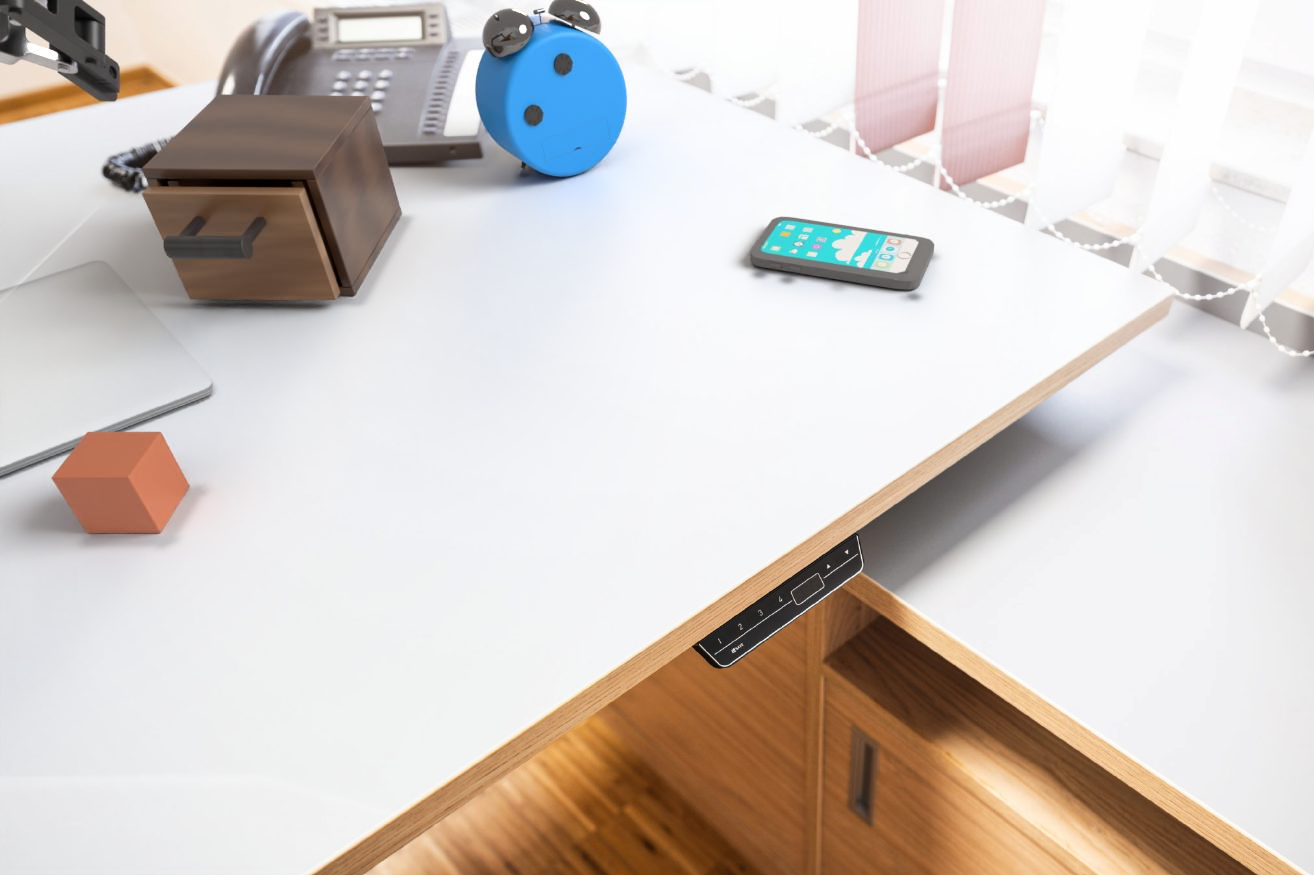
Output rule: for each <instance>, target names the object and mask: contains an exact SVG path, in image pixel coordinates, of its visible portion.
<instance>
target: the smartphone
mask: <svg viewBox="0 0 1314 875" xmlns="http://www.w3.org/2000/svg"><path fill="white" fill-rule="evenodd" d="M934 251H935V243H934V242H933V240H931V239H930V238H926V237H923V236H917V235H911V234H904V233H898V232H891V231H885V230H878V229H873V228H865V227H858V226H852V225H846V224H839V223H832V222H825V221H819V220H813V219H806V218H800V217H793V216H778V217H775V218H773V219H771V221H769V223H768V225H767V226H766V228H765V229H764V230H763V231H762V233H761V234H760V236H759V238H758V239H757V240H756V242H755V243H754V245H753V246H752V247H751V249H750V250H749V253H750V256H749V258H750V262H751V263H752V264H753V265H754V266H756V267H759V268H766V269H770V270H776V271H782V272H789V273H796V274H802V275H808V276H815V277H821V278H827V279H833V280H839V281H846V282H852V283H858V284H864V285H870V286H876V287H883V288H888V289H895V290H909V291H910V290H914V289H917V288H919V287H920V285H921V283H922V280H923V278H924V277H925V274H926V271H927V269H928V267H929V264H930V262H931V260H932V258H933V256H934V254H935V252H934Z"/></svg>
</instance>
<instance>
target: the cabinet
mask: <svg viewBox="0 0 1314 875" xmlns="http://www.w3.org/2000/svg"><path fill="white" fill-rule="evenodd" d="M141 171H142V173H143V175H144V176H143V177H144V178H145V180H146V182H147V184H148V187H170V186H169V184H168V180H169V179H280V180H307V183H308V186H309V189H310V192H311V195H312V198H313V201H314V204H315V207H316V210H317V213H318V216H319V219H320V221H321V224H322V227H323V230H324V233H325V236H326V239H327V242H328V245H329V248H330V251H331V254H332V257H333V260H334V263H335V266H336V269H337V272H338V275H339V276H338V277H337V279H336V281H337V284H338V287H339V290H340V294H339V296H338V297H340V296H341V297H347V296H348V297H353V296H354V297H355V296H356V295H357V293H358V291H359V290H360V287H361V286H362V284H364V281H365V279H366V277H367V276H368V274H369V272H370V271H371V269H372V267H373V266H374V264H375V262H376V260H377V258H378V256H379V255H380V253H381V251H382V249H383V248H384V247H385V245H386V243H387V241H388V239H389V238H390V236H391V235H392V232H393V231H394V228H395V227H396V225H397V223H398V222H399V220H400V218H401V217H402V215H403V212H402V208H401V205H400V201H399V198H398V193H397V190H396V188H395V183H394V179H393V176H392V172H391V169H390V165H389V162H388V158H387V154H386V152H385V148H384V144H383V141H382V137H381V133H380V130H379V126H378V123H377V118H376V115H375V112H374V109H373V106H372V101H371V97H370V96H369V95H315V94H314V95H313V94H311V95H309V94H308V95H307V94H298V95H297V94H225V93H224V94H221V93H220V94H217V95H216V96H215V97H214V98H213V99H212V100H211V101H210V102H209V103H207V104H206V105H205V106H204V107H203V109H201V110H200V112H198V113H197V114H196V115H195V116H194V117H193V118H192V119H191V120H190V121H189V122H188V123H187V124H186V125H184V127H182V129H181V130H180V131H178V133H177V134H176V135H175V136H174V137H172V138H171V139H170V140H169V141H168V142H167V143H166V144H165V145H164V146H163V147H162V148H161V149H160V150H159V151H158V152H157V153H156V154H155V155H154V156H153V157H152V158H151V159H150V160H149V161H148V162H147V163H146V164H145V165H143V166H142V168H141Z"/></svg>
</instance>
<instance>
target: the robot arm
mask: <svg viewBox="0 0 1314 875" xmlns="http://www.w3.org/2000/svg"><path fill="white" fill-rule="evenodd" d="M26 30H29V31H30V32H32V33H34V34H35V35H36V36H38V37H40V38H41V39H43V41H46V42H48V48H47V47H44V46H41V45H37V44H34V43H32V42H30V41H29V40H28V38H27V36H26V35H27V34H26V33H27V32H26ZM22 60H23V61H26V62H29V63H32V64H35V65H38V66H41V67H45V68H48V69H51V70H54V71H57V73H58V74H59V75H60V76H62V77H63V78H65V79H66V80H68V81H69V82H71V83H72V84H73V85H75V86H77V87H78V88H79V89H80V90H82V91H84V92H85V93H87V94H88V95H89V96H91V97H93V98H94V99H96V100H97V101H99V102H109V103H110V102H116V101H117V100H118V94H120V91H121V89H120V88H121V87H120V86H121V85H120V84H121V80H120V79H121V78H120V76H121V74H120V73H121V67H120V65H119V63H118V62H117V61H116V60H114V59H113V58H112V57H111V56H109V55H108V54H106V16H104V14H102V13H101V12H99V11H98V10H97V9H95V8H94V7H93V6H91V5H90V4H89V3H87V2H86V1H85V0H0V63H2V64H5V65H8V66H12V65H15V64H17V63H18V62H19V61H22Z"/></svg>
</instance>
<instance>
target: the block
mask: <svg viewBox="0 0 1314 875" xmlns="http://www.w3.org/2000/svg"><path fill="white" fill-rule="evenodd" d="M51 480H52V482H53V483H54V485H55V486H56V488H57V489H58V491H59V493H60V494H61V496H62V498H63V499H64V500H65V502H66V504H67V505H68V507H69V508H70V509H71V511H72V513H73V514H74V515H75V517H76V518H77V520H78V522H79V523H80V525H81V526H82V529H83V530H84V531H85V532H86V534H161V533H162V531H163V530H164V528H165V527H166V525H167V523H168V522H169V520H170V519H171V517H172V516H173V514H174V513H175V511H176V509H177V507H178V506H179V505H180V503H181V501H182V500H183V498H184V496H185V495H186V493H187V492H188V490H190V484H189V482H188V480H187V478H186V476H185V474H184V472H183V470H182V468H181V466H180V465H179V463H178V461H177V459H176V457H175V456H174V454H173V452H172V450H171V447H170V446H169V445H168V442H167V440H166V438H165V437H164V434H163V433H162V432H161V431H87V432H86V433H85V434H84V436H83V437H82V438H81V439H80V440H79V442H78V443H77V444H76V446H75V447H74V448H73V450H71V452H70V454H68V456H67V457H66V458H65V459H64V461H63V462H62V463H61V465H60V466H59V467H58V469H57V470H56V471H55V472H54V473H53V475H52V476H51Z"/></svg>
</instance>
